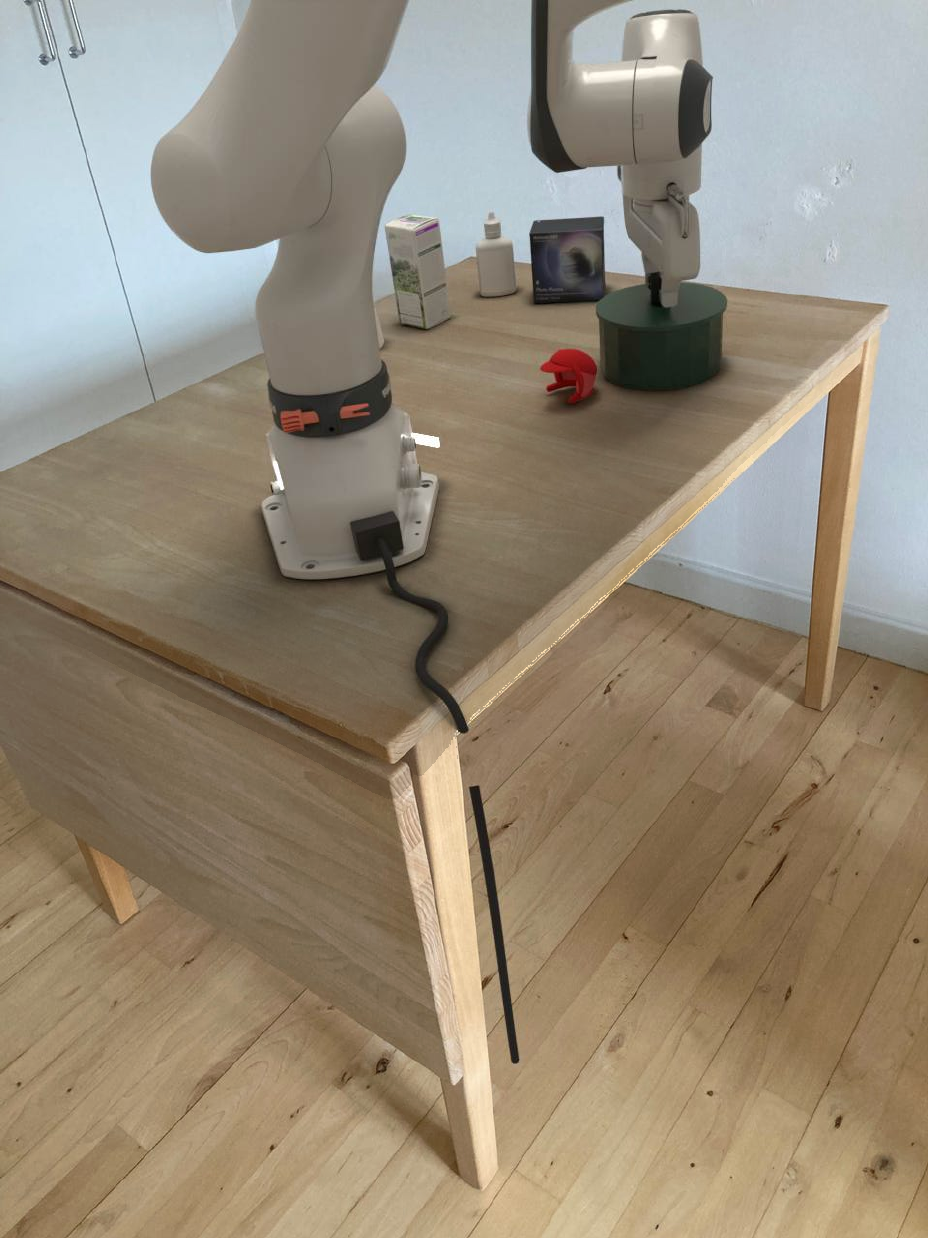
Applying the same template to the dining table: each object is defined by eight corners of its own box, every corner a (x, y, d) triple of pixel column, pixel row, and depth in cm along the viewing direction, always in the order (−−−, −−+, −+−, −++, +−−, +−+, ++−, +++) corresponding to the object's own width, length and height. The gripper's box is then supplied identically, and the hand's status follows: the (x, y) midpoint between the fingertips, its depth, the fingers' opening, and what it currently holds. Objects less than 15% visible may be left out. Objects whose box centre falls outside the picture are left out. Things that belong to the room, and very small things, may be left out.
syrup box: (452, 317, 152) (440, 215, 144) (426, 330, 149) (412, 227, 141) (424, 311, 156) (411, 211, 147) (397, 325, 152) (382, 223, 144)
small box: (532, 305, 153) (527, 232, 147) (536, 290, 158) (532, 219, 152) (604, 301, 151) (602, 227, 145) (606, 286, 156) (604, 214, 150)
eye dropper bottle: (508, 298, 157) (501, 216, 150) (475, 296, 159) (467, 215, 152) (520, 289, 160) (514, 208, 153) (488, 287, 162) (480, 207, 155)
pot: (736, 380, 124) (739, 319, 119) (616, 397, 123) (615, 337, 119) (700, 338, 136) (702, 281, 131) (590, 354, 135) (588, 297, 131)
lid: (744, 325, 119) (746, 284, 117) (611, 344, 119) (610, 304, 116) (704, 284, 132) (705, 246, 129) (584, 301, 132) (582, 264, 129)
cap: (564, 380, 129) (561, 334, 126) (607, 387, 126) (605, 339, 123) (531, 406, 124) (528, 358, 120) (575, 413, 121) (573, 364, 117)
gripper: (717, 191, 108) (712, 321, 116) (664, 152, 125) (664, 268, 133) (657, 199, 108) (657, 329, 116) (613, 160, 124) (615, 275, 132)
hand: (660, 296), depth 124 cm, fingers open, 5 cm apart
